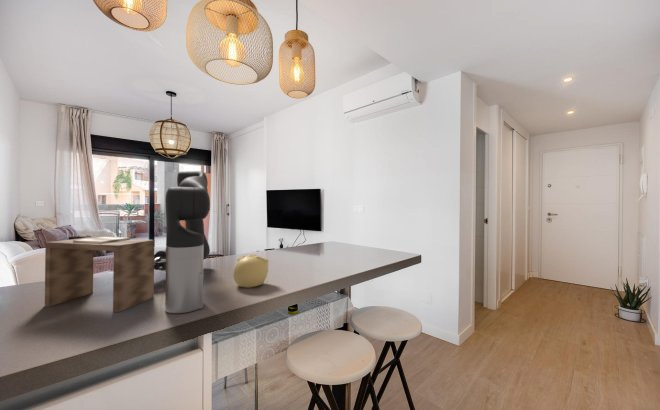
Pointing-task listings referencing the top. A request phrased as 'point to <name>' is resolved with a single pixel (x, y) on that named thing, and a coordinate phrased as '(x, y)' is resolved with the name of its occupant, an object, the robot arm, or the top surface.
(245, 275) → the yellow rounded lump
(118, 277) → the shelf nook
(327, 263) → the top surface
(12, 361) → the top surface
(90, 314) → the top surface
